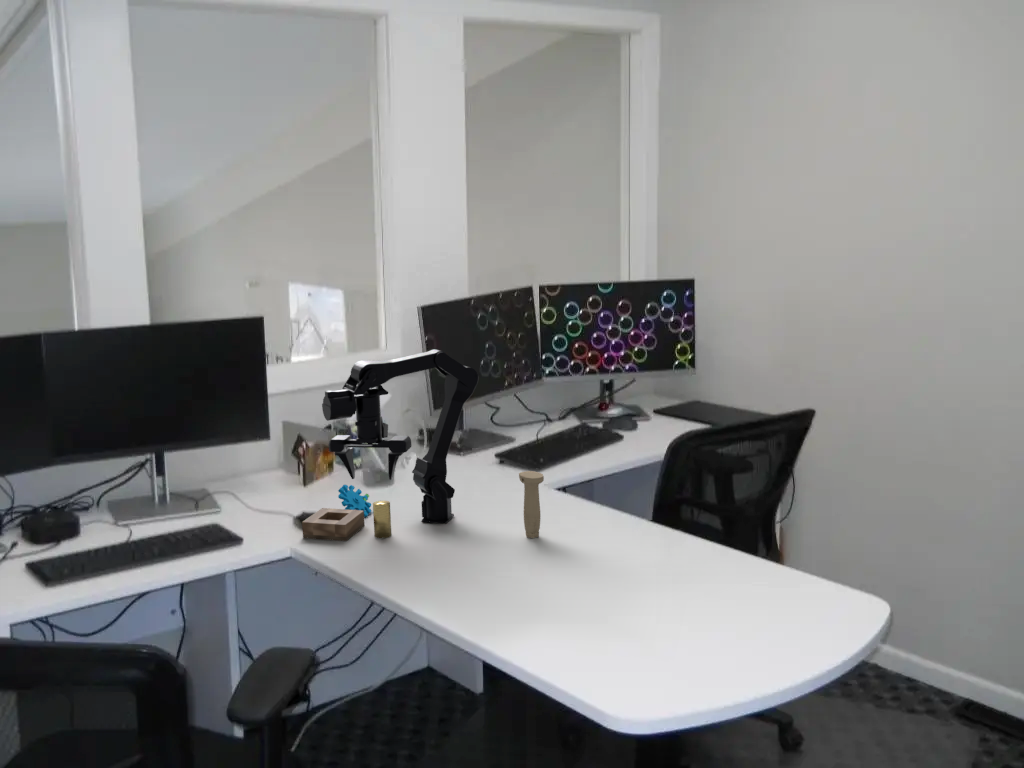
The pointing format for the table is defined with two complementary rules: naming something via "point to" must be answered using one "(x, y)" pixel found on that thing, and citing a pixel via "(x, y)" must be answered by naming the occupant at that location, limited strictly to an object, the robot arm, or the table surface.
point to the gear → (354, 499)
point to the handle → (531, 502)
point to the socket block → (333, 524)
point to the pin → (382, 519)
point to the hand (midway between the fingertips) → (372, 478)
